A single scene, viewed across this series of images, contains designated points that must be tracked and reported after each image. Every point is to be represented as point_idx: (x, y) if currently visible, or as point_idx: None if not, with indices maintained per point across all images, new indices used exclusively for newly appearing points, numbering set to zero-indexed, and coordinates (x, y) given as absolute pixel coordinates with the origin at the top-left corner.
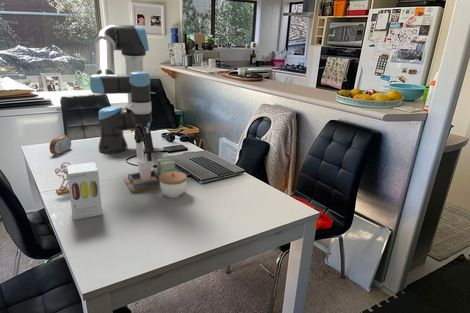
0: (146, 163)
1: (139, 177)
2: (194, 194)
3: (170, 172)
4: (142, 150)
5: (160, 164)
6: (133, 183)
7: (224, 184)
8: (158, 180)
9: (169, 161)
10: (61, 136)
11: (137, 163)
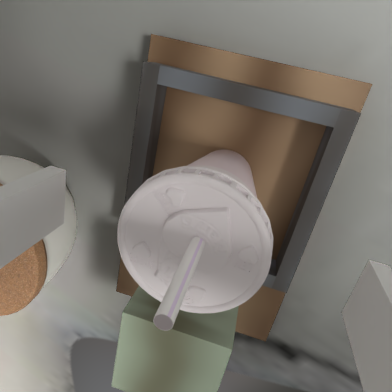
0: (13, 185)
1: (306, 179)
2: None
3: (19, 276)
4: (155, 314)
5: (142, 310)
6: (182, 70)
7: (38, 380)
8: None
9: (138, 374)
10: None
11: (199, 168)
